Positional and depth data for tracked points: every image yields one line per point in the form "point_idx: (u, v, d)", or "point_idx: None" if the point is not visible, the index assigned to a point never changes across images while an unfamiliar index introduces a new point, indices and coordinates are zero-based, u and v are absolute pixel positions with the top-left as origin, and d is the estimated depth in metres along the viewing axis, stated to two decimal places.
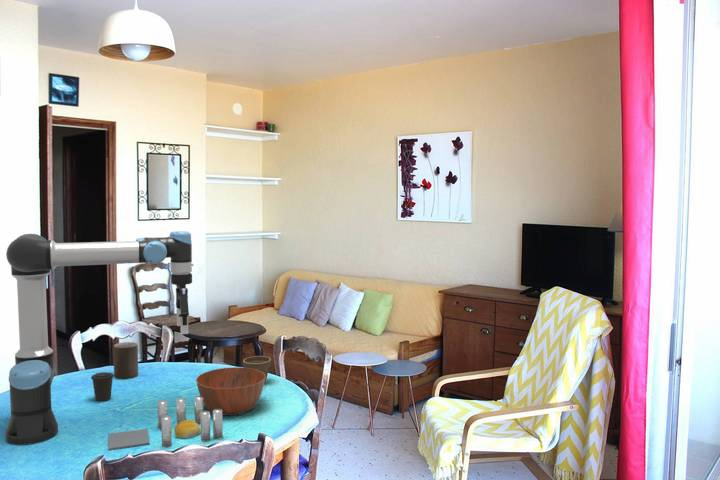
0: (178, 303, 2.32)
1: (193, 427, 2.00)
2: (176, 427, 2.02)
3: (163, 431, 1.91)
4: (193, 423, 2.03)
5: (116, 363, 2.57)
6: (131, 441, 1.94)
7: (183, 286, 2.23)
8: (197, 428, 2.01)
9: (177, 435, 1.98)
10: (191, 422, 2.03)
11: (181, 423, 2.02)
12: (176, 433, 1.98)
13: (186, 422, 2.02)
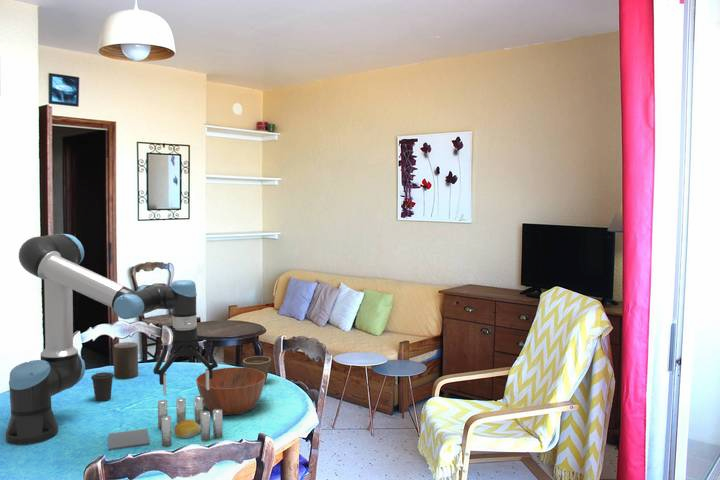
0: None
1: (193, 426, 2.00)
2: (176, 427, 2.02)
3: (163, 431, 1.91)
4: (193, 423, 2.03)
5: (116, 363, 2.57)
6: (131, 441, 1.94)
7: (173, 342, 1.98)
8: (197, 428, 2.01)
9: (177, 435, 1.98)
10: (191, 422, 2.03)
11: (181, 423, 2.02)
12: (176, 433, 1.99)
13: (186, 422, 2.03)
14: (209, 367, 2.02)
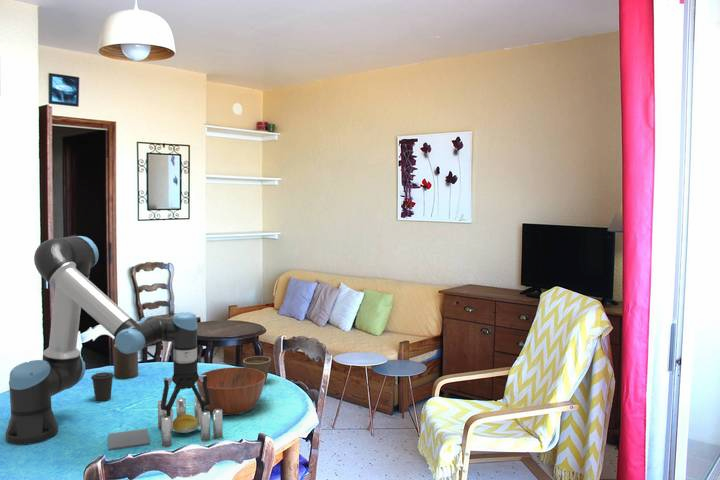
0: None
1: (192, 421, 2.00)
2: (174, 421, 2.02)
3: (163, 431, 1.91)
4: (191, 417, 2.03)
5: (116, 363, 2.57)
6: (131, 441, 1.94)
7: None
8: (195, 422, 2.01)
9: (175, 429, 1.98)
10: (189, 417, 2.03)
11: (179, 417, 2.02)
12: (174, 427, 1.99)
13: (184, 416, 2.03)
14: (202, 404, 2.02)
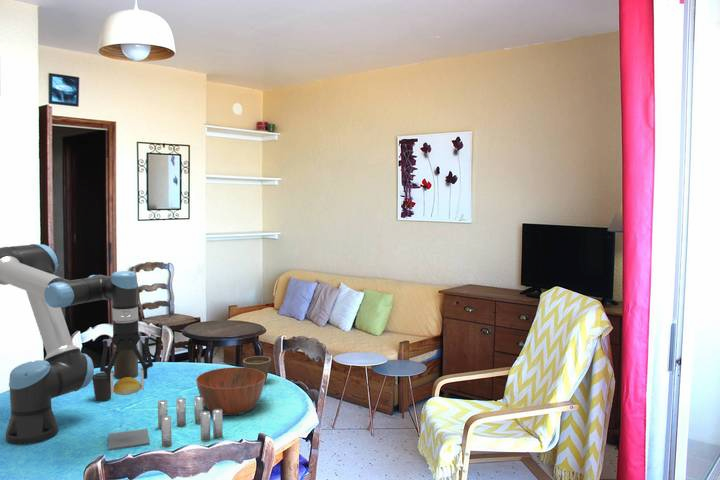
0: None
1: (133, 383, 1.93)
2: (116, 384, 1.94)
3: (163, 431, 1.91)
4: (133, 380, 1.96)
5: (116, 363, 2.57)
6: (131, 441, 1.94)
7: None
8: (137, 385, 1.94)
9: (116, 391, 1.91)
10: (131, 380, 1.96)
11: (121, 380, 1.95)
12: (115, 389, 1.91)
13: (126, 379, 1.95)
14: (144, 366, 1.95)
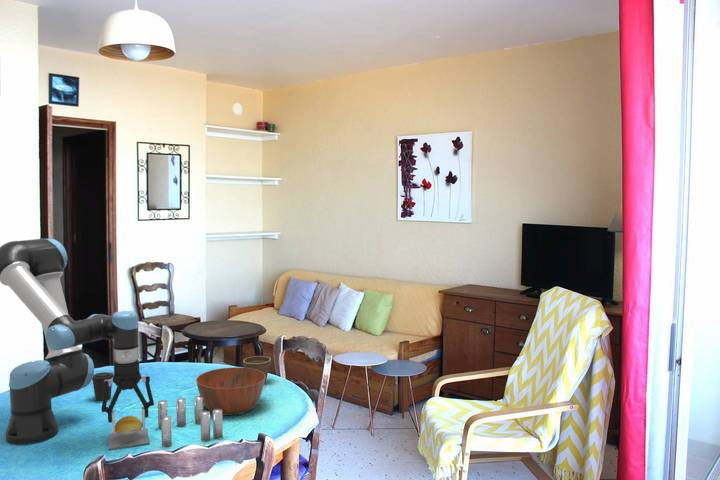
0: None
1: (134, 423, 1.94)
2: (117, 423, 1.96)
3: (163, 431, 1.91)
4: (135, 419, 1.97)
5: None
6: (131, 441, 1.94)
7: None
8: (138, 424, 1.95)
9: (117, 431, 1.92)
10: (132, 419, 1.97)
11: (122, 419, 1.96)
12: (116, 429, 1.92)
13: (127, 418, 1.96)
14: (145, 405, 1.96)
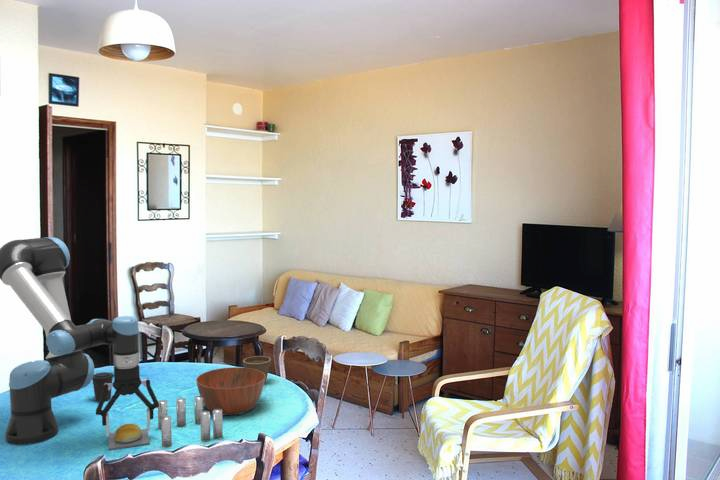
0: None
1: (134, 430, 1.94)
2: (117, 431, 1.96)
3: (163, 431, 1.91)
4: (134, 427, 1.98)
5: None
6: None
7: (114, 380, 1.93)
8: (138, 432, 1.95)
9: (117, 439, 1.92)
10: (132, 426, 1.97)
11: (122, 427, 1.96)
12: (116, 437, 1.93)
13: (127, 426, 1.97)
14: (150, 407, 1.97)
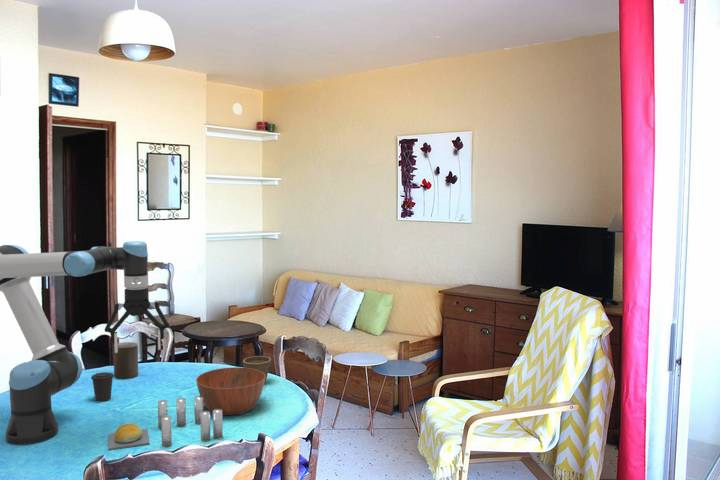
0: None
1: (134, 430, 1.94)
2: (117, 431, 1.96)
3: (163, 431, 1.91)
4: (134, 427, 1.98)
5: (116, 363, 2.57)
6: None
7: None
8: (138, 432, 1.95)
9: (117, 439, 1.92)
10: (132, 426, 1.97)
11: (122, 427, 1.96)
12: (116, 437, 1.93)
13: (127, 426, 1.97)
14: (160, 327, 2.06)
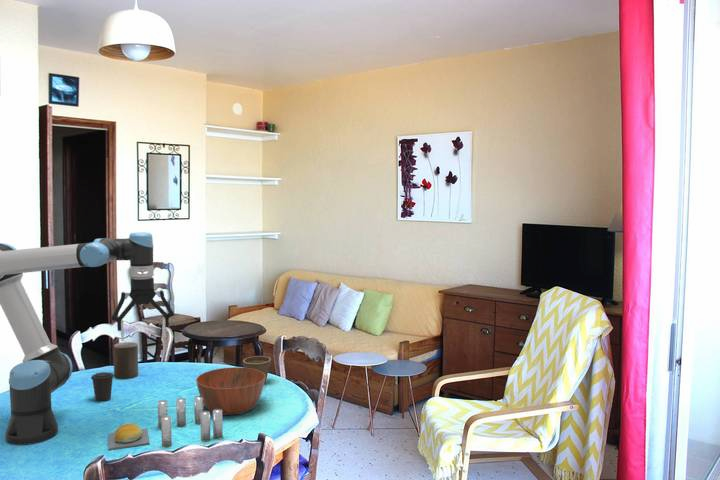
0: None
1: (134, 430, 1.94)
2: (117, 431, 1.96)
3: (163, 431, 1.91)
4: (134, 427, 1.98)
5: (116, 363, 2.57)
6: None
7: None
8: (138, 432, 1.95)
9: (117, 439, 1.92)
10: (132, 426, 1.97)
11: (122, 427, 1.96)
12: (116, 437, 1.93)
13: (127, 426, 1.97)
14: (165, 315, 2.13)
